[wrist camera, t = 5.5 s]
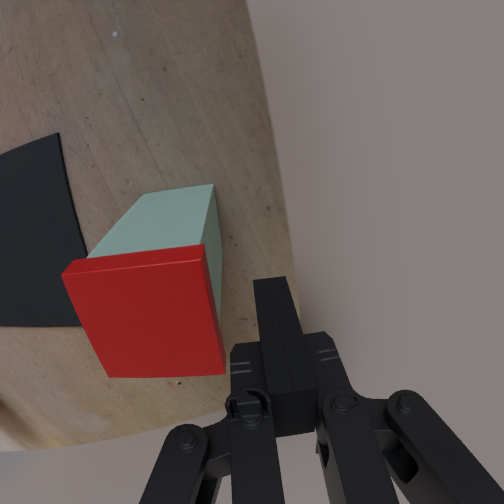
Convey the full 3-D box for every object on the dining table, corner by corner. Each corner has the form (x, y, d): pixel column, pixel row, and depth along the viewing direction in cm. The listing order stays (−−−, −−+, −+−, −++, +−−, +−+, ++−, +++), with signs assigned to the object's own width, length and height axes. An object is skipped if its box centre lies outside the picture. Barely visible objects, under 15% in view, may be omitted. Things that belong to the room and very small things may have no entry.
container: (216, 179, 24) (201, 259, 12) (227, 253, 27) (225, 374, 15) (139, 190, 24) (60, 274, 12) (155, 260, 27) (108, 377, 15)
